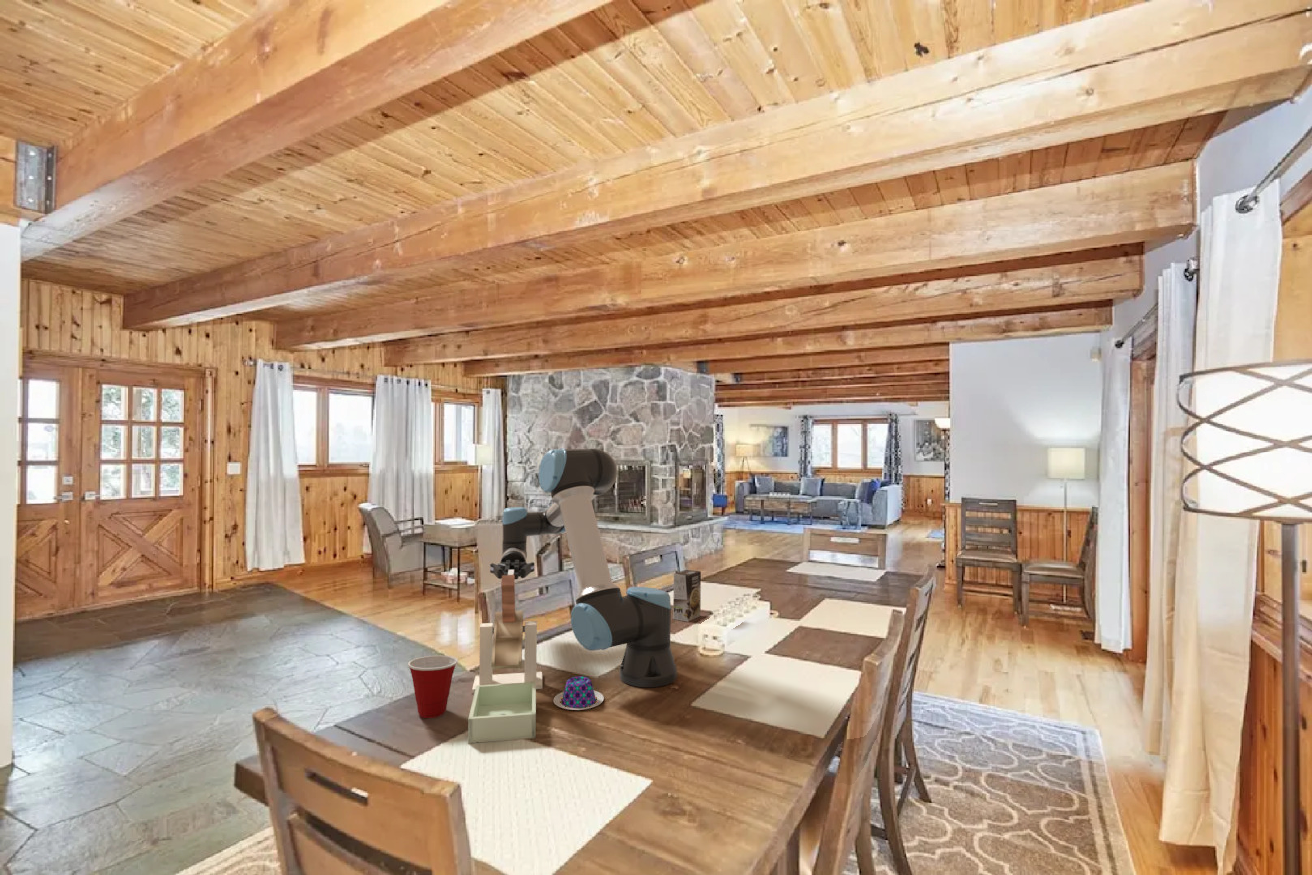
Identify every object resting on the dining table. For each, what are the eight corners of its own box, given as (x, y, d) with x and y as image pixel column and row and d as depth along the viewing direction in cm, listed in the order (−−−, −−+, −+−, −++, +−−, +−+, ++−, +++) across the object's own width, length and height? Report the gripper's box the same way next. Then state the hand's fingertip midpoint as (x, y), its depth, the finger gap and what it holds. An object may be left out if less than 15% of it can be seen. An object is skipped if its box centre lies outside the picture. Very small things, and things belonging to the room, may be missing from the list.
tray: (476, 707, 145) (476, 685, 145) (535, 702, 147) (535, 681, 147) (468, 743, 128) (468, 718, 128) (535, 737, 130) (535, 713, 130)
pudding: (585, 717, 141) (586, 693, 141) (543, 706, 146) (543, 684, 146) (613, 697, 151) (613, 676, 151) (572, 688, 157) (572, 667, 157)
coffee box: (688, 622, 214) (688, 575, 214) (672, 619, 217) (672, 573, 217) (701, 616, 221) (701, 570, 222) (685, 613, 225) (686, 568, 225)
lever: (495, 614, 160) (493, 574, 151) (523, 613, 161) (522, 573, 153) (491, 669, 147) (489, 628, 139) (521, 667, 149) (521, 626, 140)
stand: (475, 679, 161) (476, 619, 161) (542, 675, 165) (542, 616, 165) (472, 693, 153) (472, 630, 153) (542, 688, 156) (542, 626, 156)
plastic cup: (465, 703, 147) (465, 652, 147) (445, 724, 136) (445, 669, 136) (421, 701, 148) (421, 650, 148) (397, 721, 137) (398, 667, 137)
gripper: (535, 574, 190) (535, 592, 167) (491, 575, 188) (485, 594, 165) (535, 549, 190) (535, 564, 167) (491, 550, 188) (485, 566, 165)
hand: (510, 579), depth 166 cm, fingers closed
